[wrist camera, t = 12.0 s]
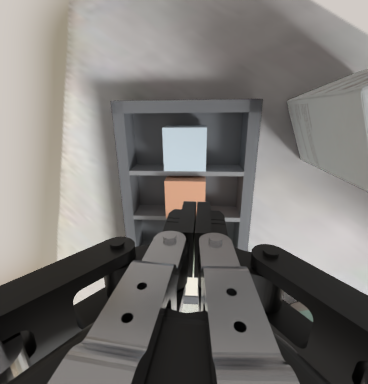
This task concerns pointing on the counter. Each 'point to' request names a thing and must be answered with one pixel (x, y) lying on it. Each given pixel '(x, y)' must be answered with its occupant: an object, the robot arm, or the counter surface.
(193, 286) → the cream cube
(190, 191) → the orange cube
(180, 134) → the pale blue cube
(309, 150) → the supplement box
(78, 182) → the counter surface
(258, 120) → the grey compartment tray
